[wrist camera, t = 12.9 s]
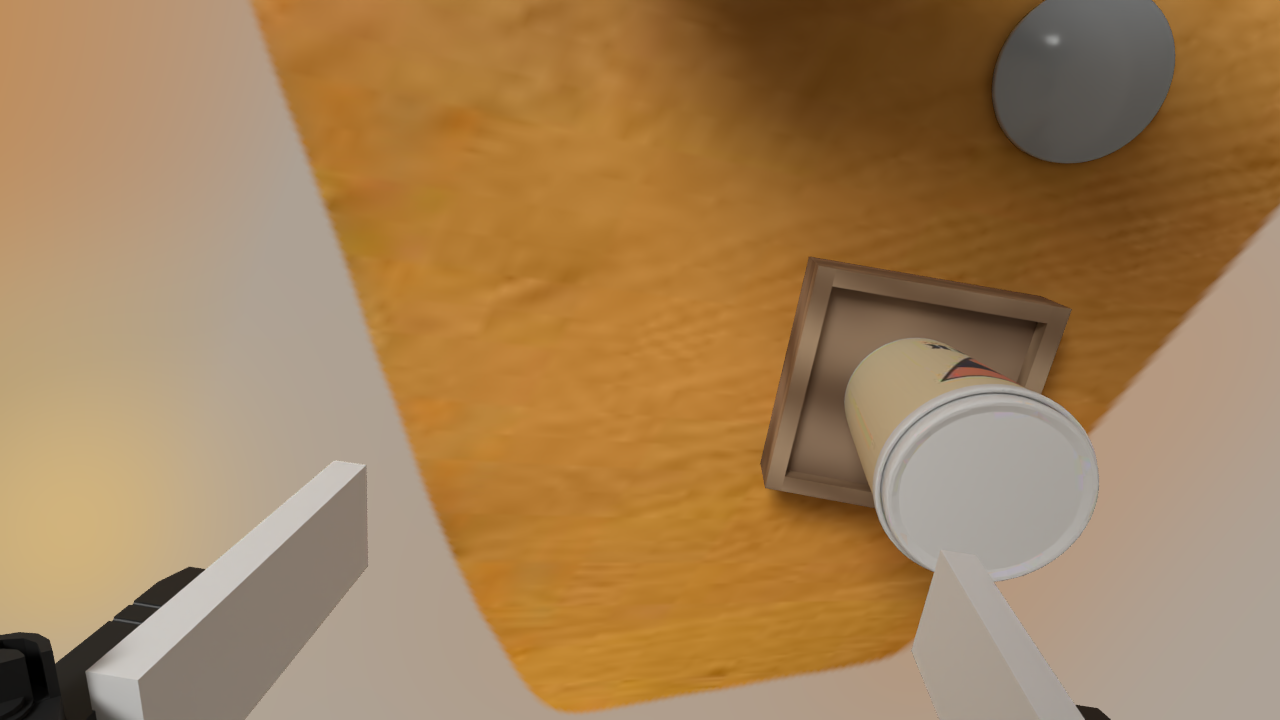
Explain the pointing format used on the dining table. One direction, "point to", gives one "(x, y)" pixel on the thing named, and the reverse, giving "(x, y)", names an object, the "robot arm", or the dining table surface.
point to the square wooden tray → (866, 320)
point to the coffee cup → (968, 459)
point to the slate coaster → (1082, 77)
